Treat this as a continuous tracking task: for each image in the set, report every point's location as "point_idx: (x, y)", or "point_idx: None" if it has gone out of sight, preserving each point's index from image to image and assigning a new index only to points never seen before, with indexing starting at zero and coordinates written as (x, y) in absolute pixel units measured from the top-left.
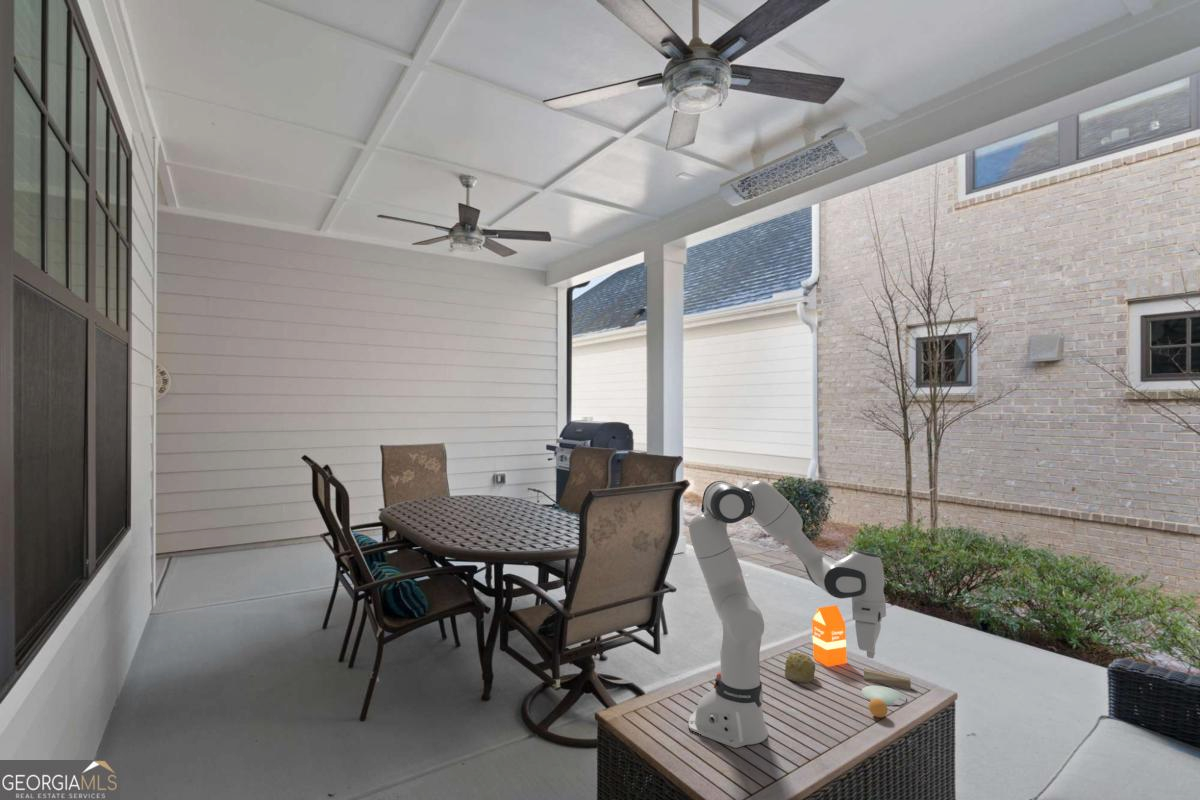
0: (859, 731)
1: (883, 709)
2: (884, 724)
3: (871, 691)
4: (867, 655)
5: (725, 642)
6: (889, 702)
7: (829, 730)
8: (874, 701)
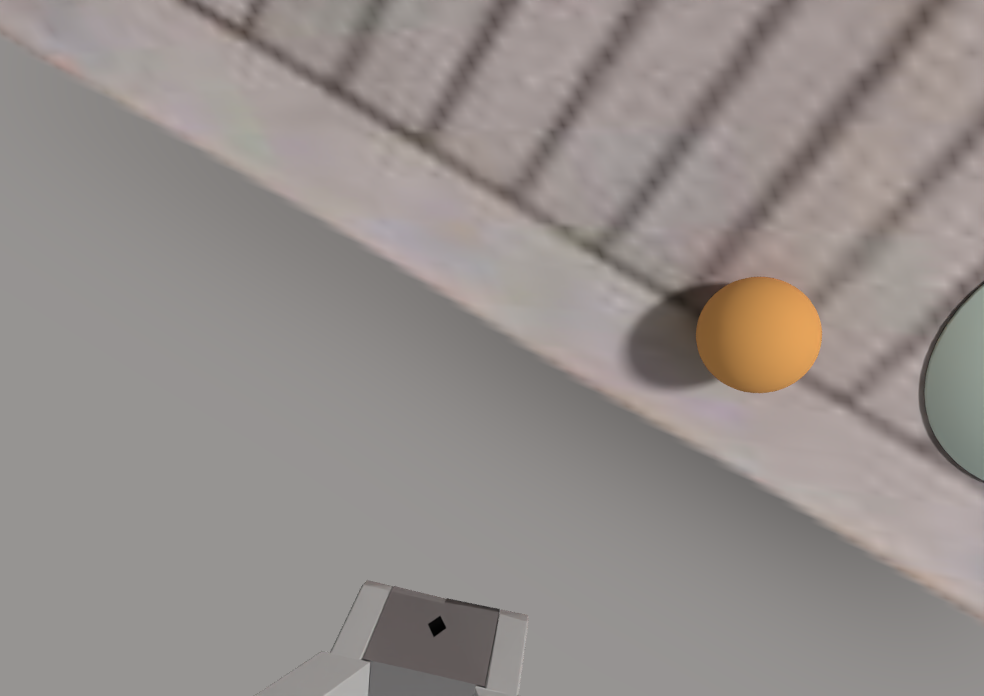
0: (511, 199)
1: (709, 369)
2: (653, 339)
3: None
4: (357, 598)
5: None
6: (968, 396)
7: (443, 10)
8: (748, 333)
